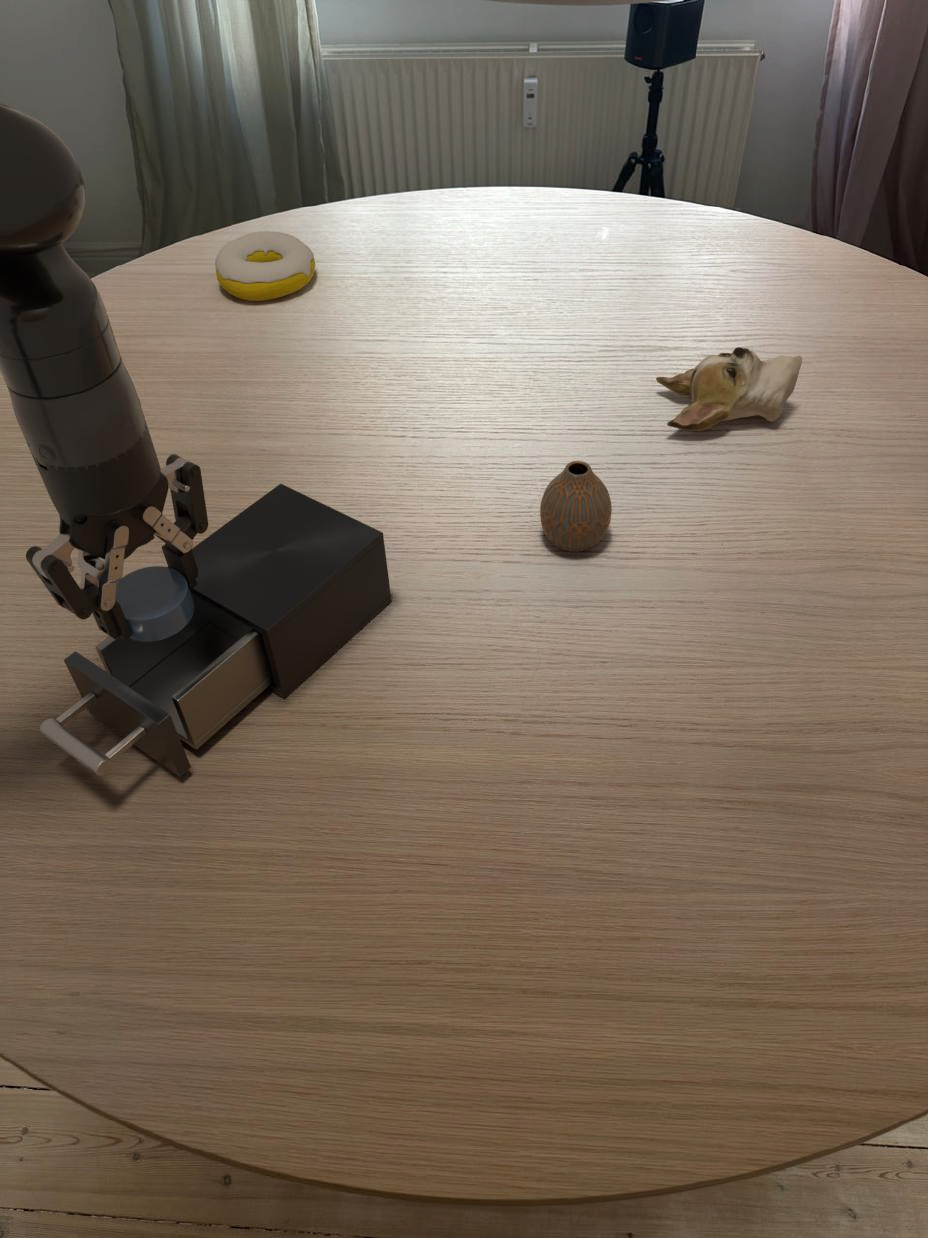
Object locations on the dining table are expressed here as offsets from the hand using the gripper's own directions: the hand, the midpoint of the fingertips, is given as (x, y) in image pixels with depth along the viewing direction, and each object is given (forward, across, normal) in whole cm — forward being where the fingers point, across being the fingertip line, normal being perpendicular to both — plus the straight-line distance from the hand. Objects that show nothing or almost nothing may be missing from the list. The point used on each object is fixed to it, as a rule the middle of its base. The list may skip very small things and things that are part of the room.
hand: (153, 608), depth 76 cm
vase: (+12, -37, +16) cm, 42 cm away
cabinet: (+12, -12, 0) cm, 17 cm away
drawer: (+11, +2, 0) cm, 11 cm away
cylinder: (+1, 0, 0) cm, 1 cm away
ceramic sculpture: (+12, -65, +18) cm, 68 cm away
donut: (+12, -60, -49) cm, 78 cm away
